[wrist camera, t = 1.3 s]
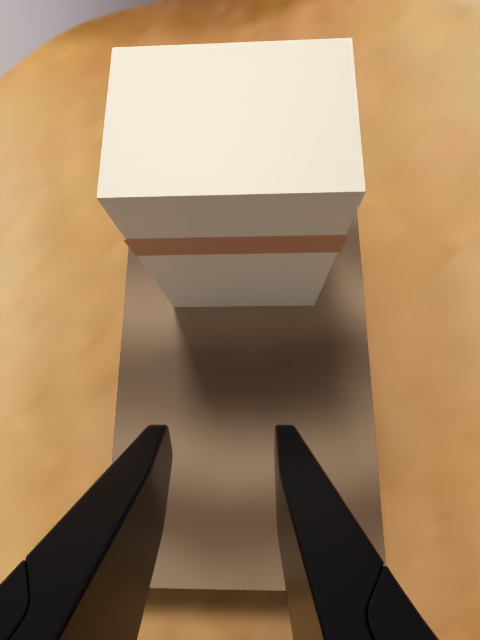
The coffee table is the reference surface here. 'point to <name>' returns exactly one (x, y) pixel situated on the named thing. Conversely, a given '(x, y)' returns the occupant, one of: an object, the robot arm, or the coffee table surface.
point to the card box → (233, 166)
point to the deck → (247, 417)
